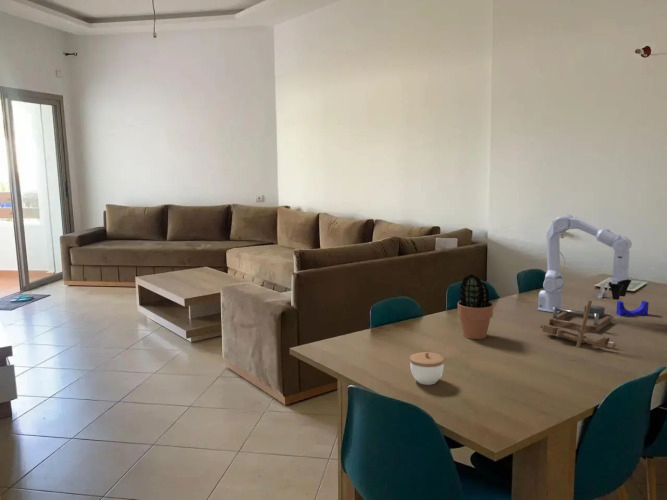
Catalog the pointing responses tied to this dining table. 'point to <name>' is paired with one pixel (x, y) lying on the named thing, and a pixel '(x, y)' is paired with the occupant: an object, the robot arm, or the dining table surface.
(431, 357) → the lidded jar
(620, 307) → the blue curved piece
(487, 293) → the potted plant
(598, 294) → the architectural model
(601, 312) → the grey round dome
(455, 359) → the dining table surface
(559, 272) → the robot arm
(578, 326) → the frame
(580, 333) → the wooden figure
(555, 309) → the metal handle
